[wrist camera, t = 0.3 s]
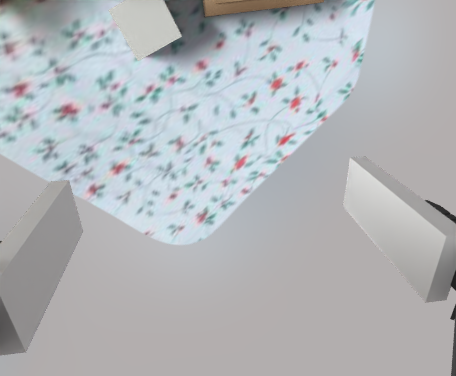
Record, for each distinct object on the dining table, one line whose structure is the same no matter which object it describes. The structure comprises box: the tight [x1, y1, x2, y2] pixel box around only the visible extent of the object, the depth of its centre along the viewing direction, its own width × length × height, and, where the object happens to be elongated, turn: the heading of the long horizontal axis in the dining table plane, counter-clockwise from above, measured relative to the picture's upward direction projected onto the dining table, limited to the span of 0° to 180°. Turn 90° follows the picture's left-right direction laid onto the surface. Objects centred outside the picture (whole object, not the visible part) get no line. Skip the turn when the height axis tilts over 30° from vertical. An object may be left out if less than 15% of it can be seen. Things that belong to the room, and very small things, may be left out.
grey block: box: [108, 0, 182, 61], centre depth 34 cm, size 5×5×5 cm
